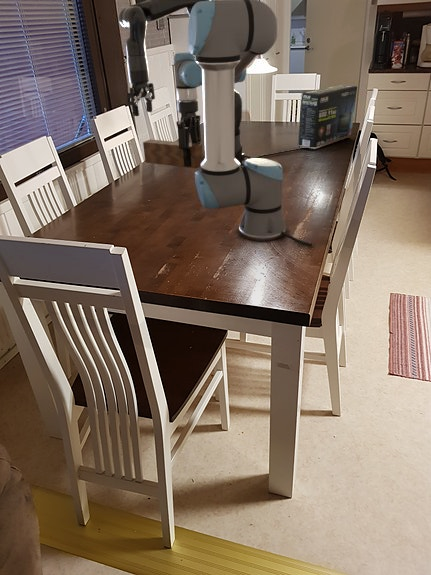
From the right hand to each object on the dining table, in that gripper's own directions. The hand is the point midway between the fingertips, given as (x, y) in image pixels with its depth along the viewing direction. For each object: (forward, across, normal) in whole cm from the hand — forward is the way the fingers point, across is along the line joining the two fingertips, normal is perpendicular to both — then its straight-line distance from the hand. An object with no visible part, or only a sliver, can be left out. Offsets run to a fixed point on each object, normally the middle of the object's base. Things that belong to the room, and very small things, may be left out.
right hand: (191, 164), depth 178 cm
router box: (+12, -95, +26) cm, 99 cm away
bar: (+1, 0, -8) cm, 8 cm away
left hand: (-17, -2, -22) cm, 28 cm away
